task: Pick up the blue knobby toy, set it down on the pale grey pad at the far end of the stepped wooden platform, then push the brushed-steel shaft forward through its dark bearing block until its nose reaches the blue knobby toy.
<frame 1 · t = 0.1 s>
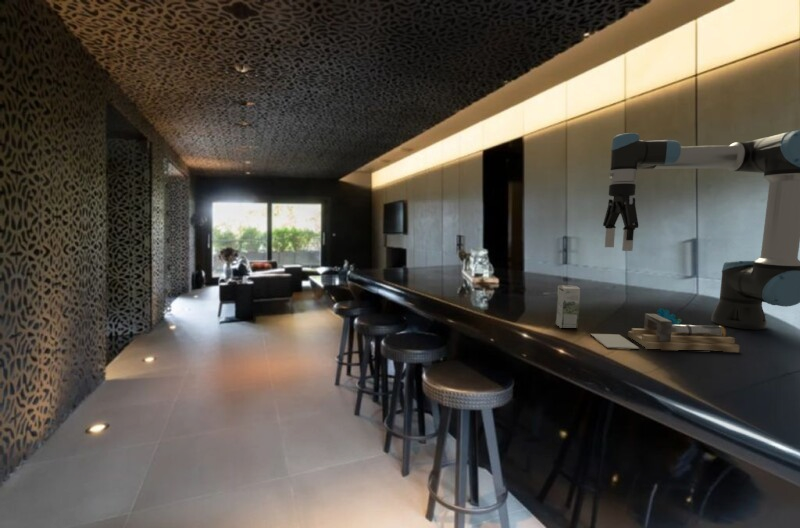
hand: (617, 249, 132), 28 cm above the worktop, tool pointing down, fingers open, 13 cm apart
stepped wooden platform: (680, 344, 121), on the worktop
pad: (613, 342, 123), on the worktop
blue knobby toy: (669, 332, 134), on the worktop
shaft: (695, 330, 120), point 4 cm above the worktop, slide at 0.0 cm
syrup box: (566, 327, 140), on the worktop
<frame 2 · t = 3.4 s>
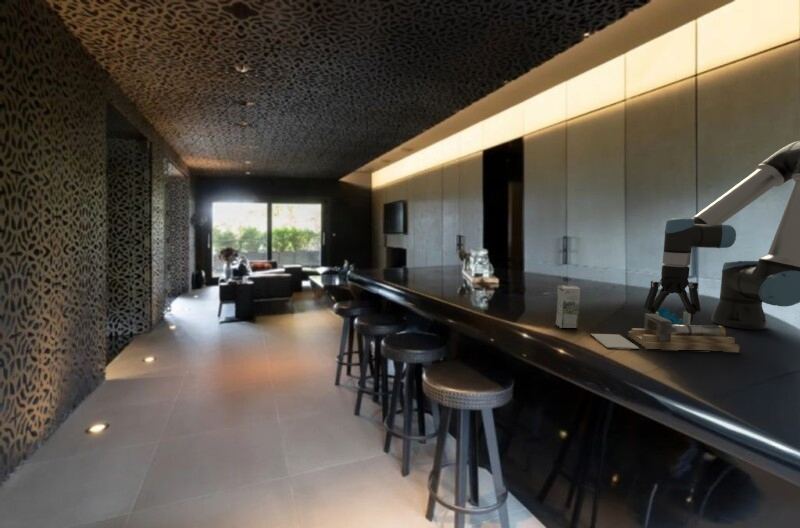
hand: (669, 331, 134), 0 cm above the worktop, tool pointing down, fingers closed on blue knobby toy, 9 cm apart
blue knobby toy: (670, 332, 135), on the worktop, touching gripper
everything else where it was.
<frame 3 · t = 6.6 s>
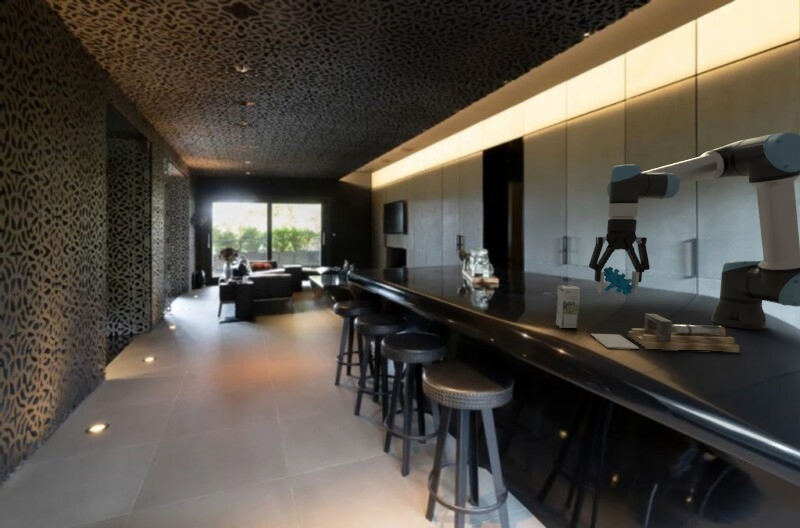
hand: (616, 292, 121), 16 cm above the worktop, tool pointing down, fingers closed on blue knobby toy, 9 cm apart
blue knobby toy: (617, 293, 122), point 15 cm above the worktop, touching gripper
everything else where it was.
when the fingers open (2 cm above the worktop, at t = 9.6 s): blue knobby toy drops 1 cm, resting on pad.
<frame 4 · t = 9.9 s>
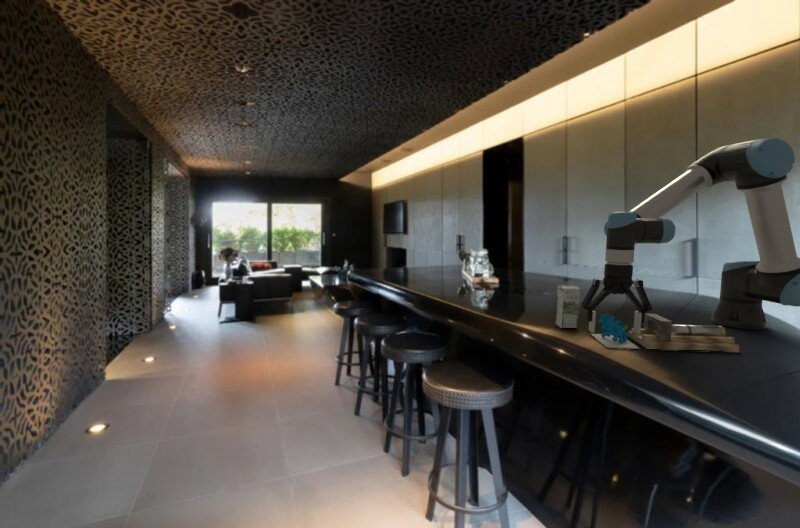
hand: (613, 332, 123), 3 cm above the worktop, tool pointing down, fingers open, 13 cm apart
blue knobby toy: (613, 340, 123), resting on pad
everything else where it was.
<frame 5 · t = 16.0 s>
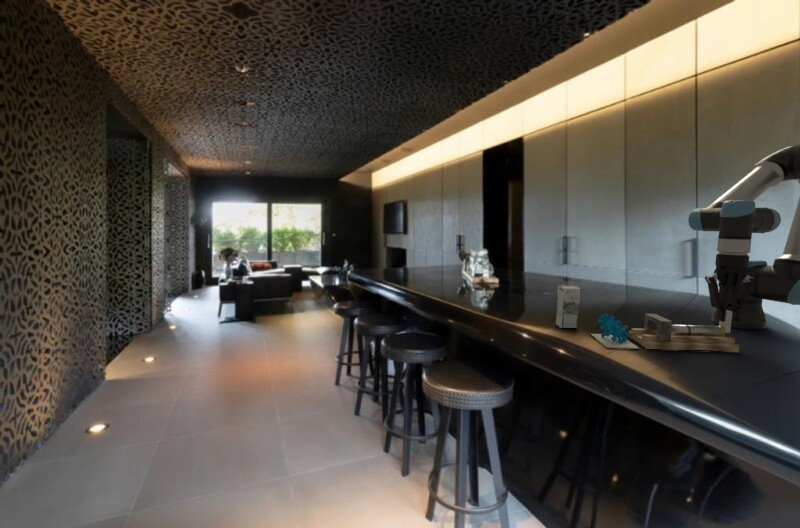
hand: (724, 331, 120), 4 cm above the worktop, tool pointing down, fingers closed
shaft: (694, 330, 120), point 4 cm above the worktop, slide at 0.1 cm, touching gripper
everything else where it was.
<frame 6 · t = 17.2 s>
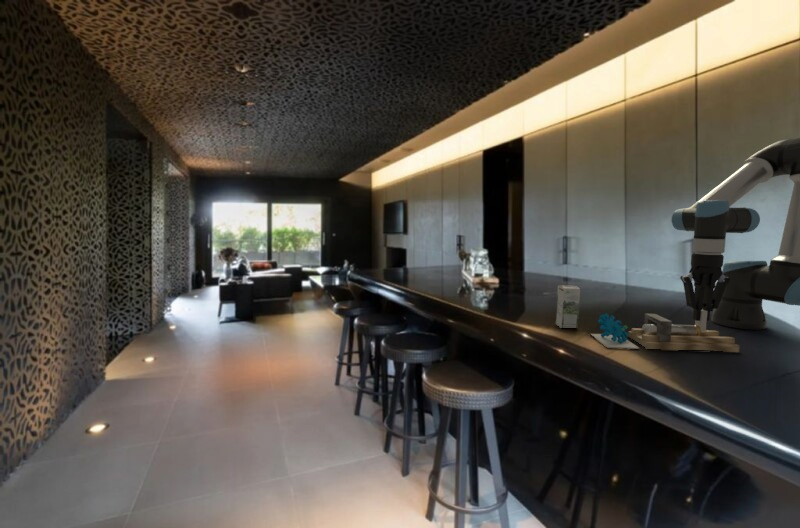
hand: (699, 331, 120), 4 cm above the worktop, tool pointing down, fingers closed
shaft: (670, 330, 121), point 4 cm above the worktop, slide at 7.0 cm, touching gripper
everything else where it was.
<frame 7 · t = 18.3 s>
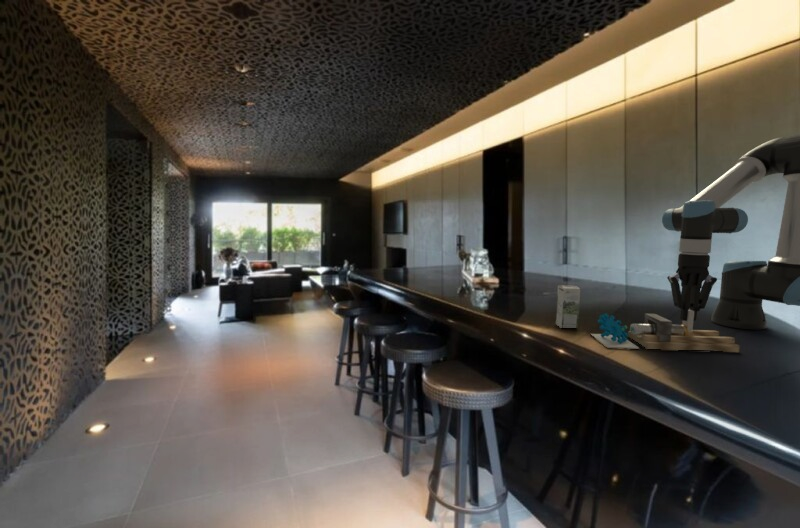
hand: (686, 330, 121), 4 cm above the worktop, tool pointing down, fingers closed
shaft: (658, 329, 121), point 4 cm above the worktop, slide at 10.6 cm, touching gripper
everything else where it was.
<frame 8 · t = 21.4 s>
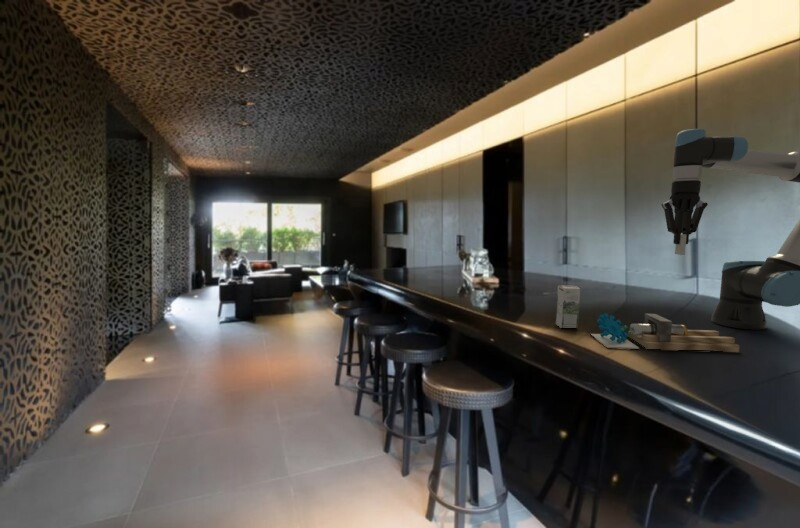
hand: (679, 254, 129), 26 cm above the worktop, tool pointing down, fingers closed
shaft: (658, 329, 121), point 4 cm above the worktop, slide at 10.7 cm
everything else where it was.
at the end: shaft slide at 10.7 cm; blue knobby toy inside the target area (0.9 cm from its centre), resting on pad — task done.
